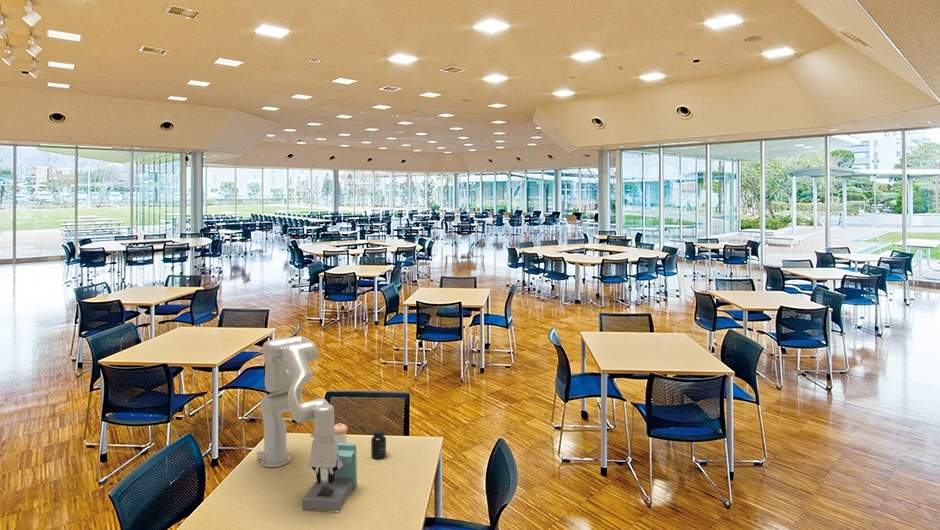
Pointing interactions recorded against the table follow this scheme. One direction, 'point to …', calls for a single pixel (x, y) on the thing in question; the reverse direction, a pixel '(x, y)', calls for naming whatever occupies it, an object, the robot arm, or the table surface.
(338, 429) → the salt shaker
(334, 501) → the socket stand
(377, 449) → the supplement bottle
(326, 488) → the peg
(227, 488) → the table surface
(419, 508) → the table surface
